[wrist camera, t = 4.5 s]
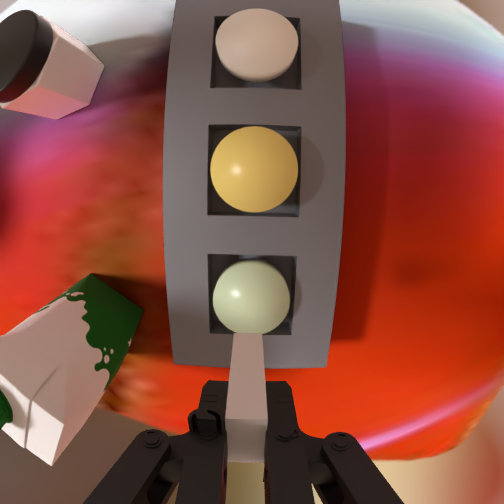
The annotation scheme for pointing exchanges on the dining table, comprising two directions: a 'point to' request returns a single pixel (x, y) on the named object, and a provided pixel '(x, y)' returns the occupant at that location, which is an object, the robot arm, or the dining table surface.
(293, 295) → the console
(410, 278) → the dining table surface
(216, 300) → the sage button
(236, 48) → the cream button
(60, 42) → the jar
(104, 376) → the milk carton
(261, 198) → the mustard button
